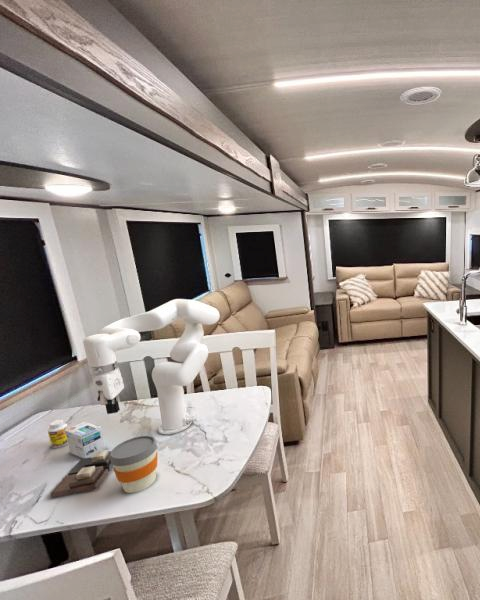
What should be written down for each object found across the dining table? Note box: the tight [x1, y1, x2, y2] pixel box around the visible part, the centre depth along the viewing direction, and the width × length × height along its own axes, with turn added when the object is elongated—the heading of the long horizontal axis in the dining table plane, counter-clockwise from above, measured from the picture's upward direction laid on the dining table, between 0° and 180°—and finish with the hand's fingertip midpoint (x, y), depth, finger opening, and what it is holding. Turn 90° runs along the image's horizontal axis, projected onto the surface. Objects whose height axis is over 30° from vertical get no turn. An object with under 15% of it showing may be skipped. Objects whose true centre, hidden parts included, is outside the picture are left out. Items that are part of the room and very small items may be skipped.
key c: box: [91, 449, 109, 462], centre depth 119 cm, size 4×4×2 cm
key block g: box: [50, 466, 109, 499], centre depth 111 cm, size 12×8×4 cm, turn 109°
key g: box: [76, 466, 96, 480], centre depth 111 cm, size 4×4×2 cm
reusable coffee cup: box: [110, 435, 158, 494], centre depth 111 cm, size 13×13×15 cm
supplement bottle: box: [47, 419, 69, 448], centre depth 131 cm, size 6×6×10 cm
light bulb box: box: [65, 421, 106, 459], centre depth 127 cm, size 11×7×11 cm, turn 71°
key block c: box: [67, 450, 114, 476], centre depth 119 cm, size 12×8×4 cm, turn 109°
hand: (113, 412), depth 118 cm, fingers closed
